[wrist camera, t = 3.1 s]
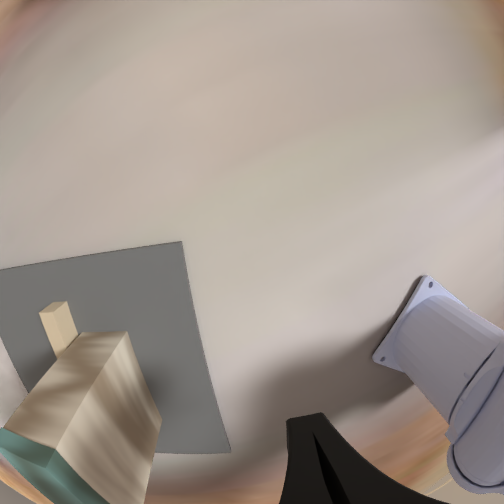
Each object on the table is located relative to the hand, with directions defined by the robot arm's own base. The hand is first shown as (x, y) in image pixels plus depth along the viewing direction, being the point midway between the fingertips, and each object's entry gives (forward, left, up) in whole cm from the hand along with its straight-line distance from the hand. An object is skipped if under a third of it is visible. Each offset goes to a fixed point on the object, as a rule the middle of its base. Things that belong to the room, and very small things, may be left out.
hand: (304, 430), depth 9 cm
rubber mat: (+10, +12, -9) cm, 18 cm away
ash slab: (+8, +10, -9) cm, 15 cm away
